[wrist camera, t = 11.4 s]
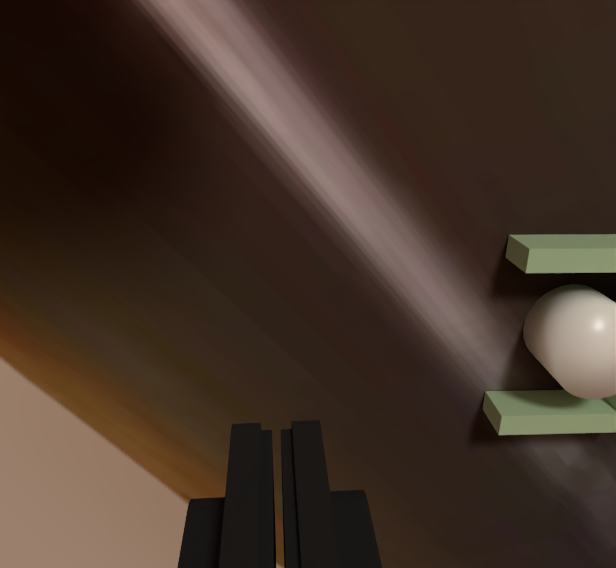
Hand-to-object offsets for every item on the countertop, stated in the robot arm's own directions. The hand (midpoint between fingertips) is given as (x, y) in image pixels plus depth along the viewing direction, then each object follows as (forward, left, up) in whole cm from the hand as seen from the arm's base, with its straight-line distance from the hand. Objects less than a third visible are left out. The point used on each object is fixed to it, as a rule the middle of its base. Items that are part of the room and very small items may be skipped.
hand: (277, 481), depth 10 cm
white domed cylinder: (+8, +20, -24) cm, 32 cm away
